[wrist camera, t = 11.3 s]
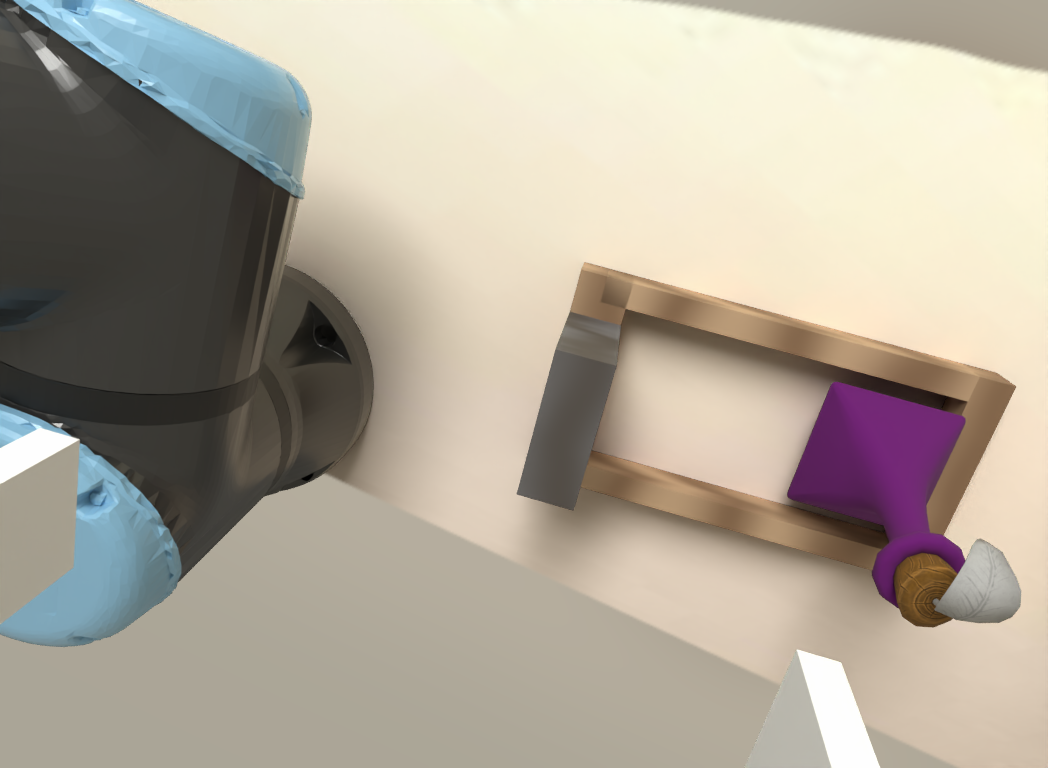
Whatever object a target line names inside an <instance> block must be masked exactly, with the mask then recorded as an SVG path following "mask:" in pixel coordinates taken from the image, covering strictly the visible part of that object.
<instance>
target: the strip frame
mask: <svg viewBox="0 0 1048 768" xmlns="http://www.w3.org/2000/svg"><path fill="white" fill-rule="evenodd" d="M626 309H628V310H632V311H635V312H639V313H643V314H647V315H650V316H654V317H658V318H661V319H665V320H669V321H672V322H676V323H680V324H683V325H687V326H691V327H694V328H698V329H702V330H706V331H709V332H713V333H717V334H720V335H724V336H728V337H731V338H735V339H739V340H742V341H746V342H750V343H753V344H757V345H761V346H765V347H768V348H772V349H776V350H779V351H783V352H787V353H790V354H794V355H798V356H801V357H805V358H809V359H812V360H816V361H820V362H823V363H827V364H831V365H835V366H838V367H842V368H846V369H849V370H853V371H857V372H860V373H864V374H868V375H871V376H875V377H879V378H882V379H886V380H890V381H894V382H897V383H901V384H905V385H908V386H912V387H916V388H919V389H923V390H927V391H930V392H934V393H938V394H941V395H945V396H947V398H946V400H945V402H944V404H943V406H942V409H941V410H943V411H946V412H950V413H954V414H957V415H961V416H963V417H965V418H966V423H965V425H964V428H963V430H962V432H961V434H960V436H959V438H958V440H957V442H956V444H955V446H954V449H953V451H952V453H951V455H950V457H949V459H948V461H947V463H946V465H945V468H944V470H943V472H942V474H941V476H940V478H939V480H938V482H937V484H936V486H935V489H934V491H933V493H932V495H931V497H930V499H929V501H928V503H927V505H926V508H927V516H928V523H929V529H930V533H936V534H942V535H944V533H945V531H946V529H947V527H948V525H949V523H950V521H951V519H952V517H953V515H954V513H955V511H956V509H957V506H958V504H959V502H960V500H961V498H962V496H963V494H964V492H965V490H966V488H967V486H968V484H969V482H970V480H971V478H972V476H973V474H974V472H975V470H976V468H977V466H978V464H979V462H980V460H981V458H982V456H983V453H984V451H985V449H986V447H987V445H988V443H989V441H990V439H991V437H992V435H993V433H994V431H995V429H996V427H997V425H998V423H999V421H1000V419H1001V417H1002V415H1003V413H1004V411H1005V409H1006V407H1007V405H1008V403H1009V400H1010V398H1011V396H1012V394H1013V392H1014V390H1015V388H1016V386H1015V385H1013V384H1012V383H1010V382H1009V381H1007V380H1006V379H1005V378H1003V377H1002V376H1000V375H999V374H997V373H995V372H991V371H987V370H984V369H980V368H976V367H973V366H969V365H965V364H961V363H958V362H954V361H950V360H946V359H943V358H939V357H935V356H932V355H928V354H924V353H920V352H917V351H913V350H909V349H906V348H902V347H898V346H894V345H891V344H887V343H883V342H879V341H876V340H872V339H868V338H865V337H861V336H857V335H853V334H850V333H846V332H842V331H839V330H835V329H831V328H827V327H824V326H820V325H816V324H812V323H809V322H805V321H801V320H798V319H794V318H790V317H786V316H783V315H779V314H775V313H772V312H768V311H764V310H760V309H757V308H753V307H749V306H745V305H742V304H738V303H734V302H731V301H727V300H723V299H719V298H716V297H712V296H708V295H704V294H701V293H697V292H693V291H690V290H686V289H682V288H678V287H675V286H671V285H667V284H664V283H660V282H656V281H652V280H649V279H645V278H641V277H637V276H634V275H630V274H626V273H623V272H619V271H615V270H611V269H608V268H604V267H600V266H597V265H593V264H589V263H585V262H584V265H583V267H582V269H581V273H580V277H579V280H578V284H577V288H576V292H575V295H574V299H573V303H572V306H571V310H570V313H569V316H568V318H567V321H566V323H565V326H564V329H563V331H562V334H561V336H560V339H559V342H558V344H557V347H556V350H555V353H554V357H553V361H552V365H551V368H550V372H549V376H548V379H547V383H546V387H545V391H544V394H543V398H542V402H541V406H540V409H539V413H538V417H537V421H536V424H535V428H534V432H533V435H532V439H531V443H530V447H529V450H528V454H527V458H526V462H525V465H524V469H523V473H522V477H521V480H520V484H519V488H518V491H517V495H521V496H524V497H528V498H531V499H535V500H538V501H542V502H545V503H549V504H552V505H556V506H559V507H563V508H566V509H570V510H574V507H575V504H576V500H577V497H578V494H579V490H580V487H582V488H585V489H589V490H592V491H596V492H599V493H603V494H606V495H610V496H613V497H617V498H620V499H624V500H627V501H631V502H634V503H638V504H641V505H645V506H648V507H652V508H655V509H659V510H662V511H666V512H669V513H673V514H676V515H680V516H683V517H687V518H690V519H694V520H697V521H701V522H704V523H708V524H711V525H715V526H718V527H722V528H725V529H729V530H732V531H736V532H739V533H743V534H746V535H750V536H753V537H757V538H760V539H764V540H767V541H771V542H774V543H778V544H781V545H785V546H788V547H792V548H795V549H799V550H802V551H806V552H809V553H813V554H816V555H820V556H823V557H827V558H830V559H834V560H837V561H841V562H844V563H848V564H851V565H855V566H858V567H862V568H865V569H869V570H873V566H874V563H875V560H876V556H877V553H878V552H879V551H881V550H882V549H883V548H884V547H885V546H886V545H887V544H888V543H889V540H888V537H887V534H886V531H885V532H884V533H882V532H879V531H875V530H872V529H868V528H865V527H861V526H858V525H854V524H850V523H847V522H843V521H840V520H836V519H833V518H829V517H826V516H822V515H819V514H815V513H812V512H808V511H804V510H801V509H797V508H794V507H790V506H787V505H783V504H780V503H776V502H773V501H769V500H765V499H762V498H758V497H755V496H751V495H748V494H744V493H741V492H737V491H734V490H730V489H727V488H723V487H719V486H716V485H712V484H709V483H705V482H702V481H698V480H695V479H691V478H688V477H684V476H681V475H677V474H673V473H670V472H666V471H663V470H659V469H656V468H652V467H649V466H645V465H642V464H638V463H634V462H631V461H627V460H624V459H620V458H617V457H613V456H610V455H606V454H603V453H599V452H596V451H592V447H593V443H594V440H595V437H596V433H597V430H598V427H599V423H600V420H601V417H602V413H603V410H604V406H605V403H606V400H607V396H608V393H609V390H610V386H611V383H612V380H613V376H614V373H615V370H616V366H617V357H618V348H619V338H620V329H621V323H622V320H623V316H624V313H625V310H626Z"/></svg>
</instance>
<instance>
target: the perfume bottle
mask: <svg viewBox="0 0 1048 768" xmlns="http://www.w3.org/2000/svg"><path fill="white" fill-rule="evenodd" d="M965 423H966V418H965V417H963V416H961V415H957V414H954V413H950V412H946V411H943V410H939V409H935V408H932V407H928V406H924V405H921V404H917V403H913V402H910V401H906V400H902V399H899V398H895V397H891V396H888V395H884V394H880V393H877V392H873V391H870V390H866V389H862V388H859V387H855V386H851V385H848V384H844V383H840V382H833V383H832V384H831V386H830V388H829V391H828V393H827V396H826V398H825V401H824V403H823V406H822V408H821V411H820V413H819V416H818V418H817V421H816V423H815V426H814V428H813V430H812V433H811V435H810V438H809V440H808V443H807V445H806V448H805V450H804V453H803V455H802V458H801V460H800V463H799V465H798V468H797V470H796V473H795V475H794V477H793V480H792V482H791V485H790V487H789V490H788V493H787V496H788V497H789V498H790V499H792V500H795V501H798V502H802V503H805V504H809V505H812V506H816V507H820V508H823V509H827V510H830V511H834V512H837V513H841V514H844V515H848V516H851V517H855V518H859V519H862V520H866V521H869V522H873V523H876V524H880V525H883V526H884V528H885V531H886V534H887V537H888V540H889V543H888V544H887V545H886V546H885V547H884V548H883V549H882V550H881V551H879V552H878V553H877V556H876V560H875V563H874V566H873V570H872V577H873V579H874V582H875V584H876V587H877V589H878V592H879V594H880V595H881V596H882V597H883V598H885V599H886V600H887V601H889V602H890V603H892V604H893V605H894V606H896V607H897V608H899V609H900V612H901V614H902V617H903V618H905V619H906V620H908V621H909V622H911V623H912V624H914V625H915V626H921V627H936V626H938V625H941V624H943V623H946V622H948V621H951V620H952V619H953V618H954V619H956V620H960V621H967V622H975V623H1000V622H1002V621H1004V620H1006V619H1008V618H1011V617H1012V616H1013V615H1014V614H1015V612H1016V611H1017V610H1018V609H1019V607H1020V603H1021V589H1020V587H1019V584H1018V581H1017V578H1016V576H1015V574H1014V573H1013V571H1012V569H1011V567H1010V565H1009V563H1008V562H1007V560H1006V558H1005V556H1004V554H1003V552H1001V551H1000V550H998V549H997V548H995V547H994V546H993V545H991V544H990V543H988V542H986V541H984V540H982V539H977V540H976V541H975V543H974V544H973V545H972V547H971V550H970V552H969V554H968V557H967V559H966V561H965V558H964V556H963V553H962V550H961V549H960V548H959V547H958V546H957V545H955V544H954V543H953V542H951V541H950V540H949V539H947V538H946V537H945V536H943V535H942V534H936V533H930V529H929V523H928V516H927V508H926V505H927V503H928V501H929V499H930V497H931V495H932V493H933V491H934V489H935V486H936V484H937V482H938V480H939V478H940V476H941V474H942V472H943V470H944V468H945V465H946V463H947V461H948V459H949V457H950V455H951V453H952V451H953V449H954V446H955V444H956V442H957V440H958V438H959V436H960V434H961V432H962V430H963V428H964V425H965Z"/></svg>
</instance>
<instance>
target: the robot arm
mask: <svg viewBox="0 0 1048 768" xmlns="http://www.w3.org/2000/svg"><path fill="white" fill-rule="evenodd" d="M311 121H312V112H311V106H310V102H309V99H308V96H307V94H306V92H305V90H304V89H303V87H302V86H301V84H300V83H299V82H298V80H297V79H296V78H295V77H294V76H293V75H291V74H290V73H289V72H288V71H286V70H285V69H283V68H281V67H279V66H278V65H276V64H274V63H272V62H270V61H268V60H266V59H264V58H261V57H259V56H257V55H255V54H253V53H251V52H249V51H246V50H244V49H242V48H240V47H238V46H235V45H233V44H231V43H229V42H227V41H224V40H222V39H220V38H218V37H216V36H213V35H211V34H209V33H207V32H205V31H202V30H200V29H198V28H196V27H193V26H191V25H189V24H187V23H184V22H182V21H180V20H177V19H175V18H173V17H171V16H168V15H166V14H164V13H162V12H160V11H157V10H155V9H153V8H151V7H149V6H146V5H144V4H142V3H140V2H137V1H135V0H0V634H1V635H3V636H6V637H9V638H12V639H15V640H19V641H22V642H26V643H31V644H37V645H45V646H56V647H67V646H78V645H85V644H89V643H92V642H93V641H94V640H101V639H103V638H107V637H110V636H112V635H114V634H116V633H118V632H120V631H121V630H123V629H125V628H126V627H127V626H129V625H130V624H131V623H133V622H134V621H135V620H136V619H138V618H139V617H140V616H142V615H143V614H145V613H146V612H147V611H148V610H150V609H151V608H152V607H154V606H155V605H157V604H159V603H161V602H162V601H163V600H164V599H165V598H167V597H168V596H169V595H170V594H171V593H172V591H173V590H174V589H175V588H176V586H177V583H178V582H179V581H180V580H181V579H182V578H183V577H184V576H185V575H186V574H187V573H188V572H189V571H190V570H191V569H192V567H194V566H195V565H196V564H197V563H198V562H199V561H200V560H201V559H202V558H203V557H204V556H205V555H206V554H207V553H208V552H209V551H210V550H211V549H212V548H213V547H214V546H215V545H216V544H217V543H218V542H219V541H220V540H221V539H222V538H223V537H224V536H225V535H226V534H227V533H228V532H229V531H230V530H231V529H232V528H233V527H234V526H235V525H236V524H237V523H238V522H239V521H240V520H241V519H242V518H243V517H244V516H245V515H246V514H247V513H248V512H249V511H250V510H251V509H252V508H253V507H254V506H255V505H256V504H257V502H259V500H261V499H262V498H263V497H264V496H267V495H270V494H274V493H277V492H279V491H283V490H288V489H291V488H295V487H298V486H300V485H303V484H306V483H308V482H310V481H312V480H314V479H315V478H318V477H319V476H321V475H322V474H324V473H325V472H327V471H328V470H329V469H331V468H332V467H333V466H334V465H335V464H336V463H337V462H338V461H339V460H340V459H341V458H342V457H343V456H344V455H345V453H346V452H347V451H348V450H349V449H350V448H351V447H352V446H353V444H354V443H355V442H356V440H357V439H358V437H359V436H360V434H361V432H362V430H363V428H364V426H365V424H366V422H367V419H368V416H369V413H370V409H371V404H372V398H373V372H372V366H371V361H370V356H369V353H368V350H367V346H366V344H365V341H364V339H363V337H362V334H361V332H360V330H359V328H358V327H357V325H356V323H355V321H354V320H353V318H352V317H351V315H350V314H349V313H348V311H347V310H346V309H345V307H344V306H343V305H342V304H341V303H340V301H339V300H338V299H337V298H336V297H335V296H334V295H333V294H332V293H331V292H330V291H328V290H327V289H326V288H325V287H324V286H322V285H321V284H320V283H318V282H317V281H316V280H314V279H313V278H311V277H310V276H308V275H306V274H304V273H302V272H300V271H298V270H296V269H294V268H292V267H289V266H287V265H285V261H286V257H287V252H288V248H289V243H290V239H291V234H292V230H293V225H294V221H295V216H296V212H297V207H298V203H299V199H303V198H304V194H305V189H304V185H303V184H302V176H303V170H304V164H305V158H306V152H307V146H308V140H309V134H310V128H311ZM745 768H880V767H879V764H878V761H877V758H876V756H875V753H874V750H873V748H872V745H871V742H870V739H869V737H868V734H867V731H866V729H865V726H864V723H863V721H862V718H861V715H860V712H859V710H858V707H857V704H856V702H855V699H854V696H853V694H852V691H851V688H850V685H849V683H848V680H847V677H846V675H845V672H844V669H843V667H842V664H841V662H838V661H835V660H831V659H828V658H825V657H821V656H818V655H814V654H811V653H807V652H804V651H801V650H796V652H795V654H794V657H793V659H792V661H791V663H790V666H789V668H788V670H787V672H786V675H785V677H784V679H783V681H782V684H781V686H780V688H779V690H778V693H777V695H776V697H775V700H774V702H773V704H772V706H771V709H770V711H769V713H768V715H767V718H766V720H765V722H764V725H763V727H762V729H761V731H760V734H759V736H758V738H757V740H756V743H755V745H754V747H753V750H752V752H751V754H750V756H749V758H748V761H747V763H746V765H745Z"/></svg>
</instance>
